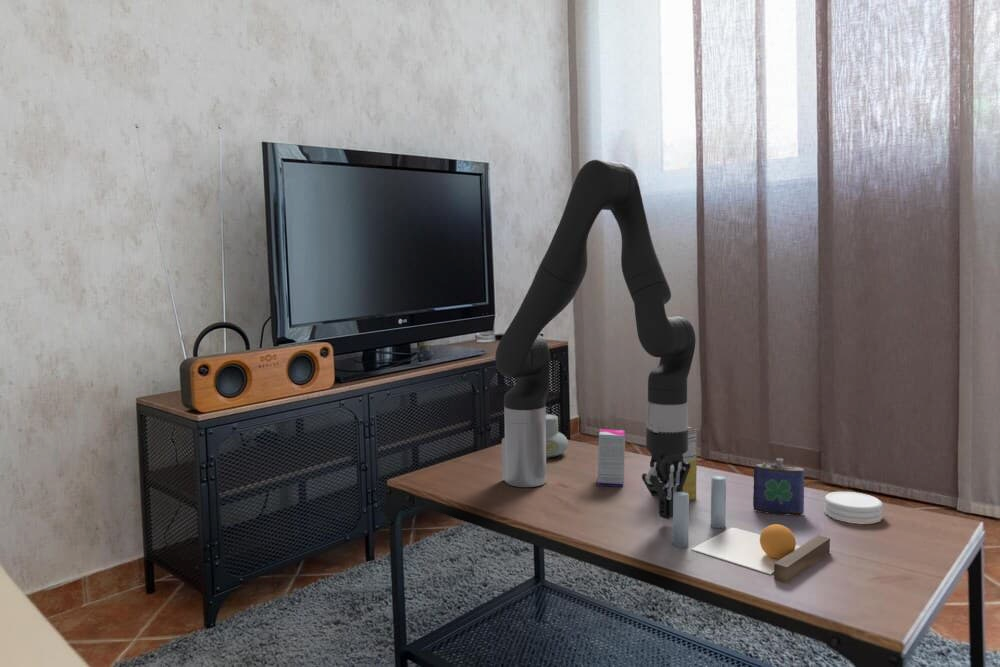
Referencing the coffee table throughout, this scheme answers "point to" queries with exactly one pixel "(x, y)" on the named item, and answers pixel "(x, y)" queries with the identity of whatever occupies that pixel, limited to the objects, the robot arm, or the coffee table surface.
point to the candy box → (691, 463)
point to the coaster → (853, 507)
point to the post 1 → (680, 519)
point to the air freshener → (554, 437)
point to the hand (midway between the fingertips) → (666, 517)
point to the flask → (778, 488)
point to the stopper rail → (801, 558)
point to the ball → (777, 541)
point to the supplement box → (611, 457)
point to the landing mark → (739, 550)
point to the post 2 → (718, 502)
